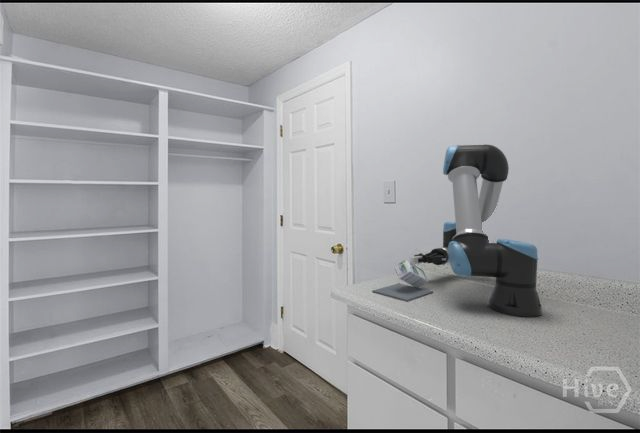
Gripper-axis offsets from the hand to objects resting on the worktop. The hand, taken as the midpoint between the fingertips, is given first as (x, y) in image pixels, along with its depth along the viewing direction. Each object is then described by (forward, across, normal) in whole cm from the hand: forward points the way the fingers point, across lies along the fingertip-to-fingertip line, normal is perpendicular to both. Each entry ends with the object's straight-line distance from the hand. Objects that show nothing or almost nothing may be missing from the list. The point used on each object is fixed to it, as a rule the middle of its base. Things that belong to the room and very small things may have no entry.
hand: (411, 260), depth 131 cm
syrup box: (-6, 0, -8) cm, 10 cm away
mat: (+6, 0, -12) cm, 14 cm away
